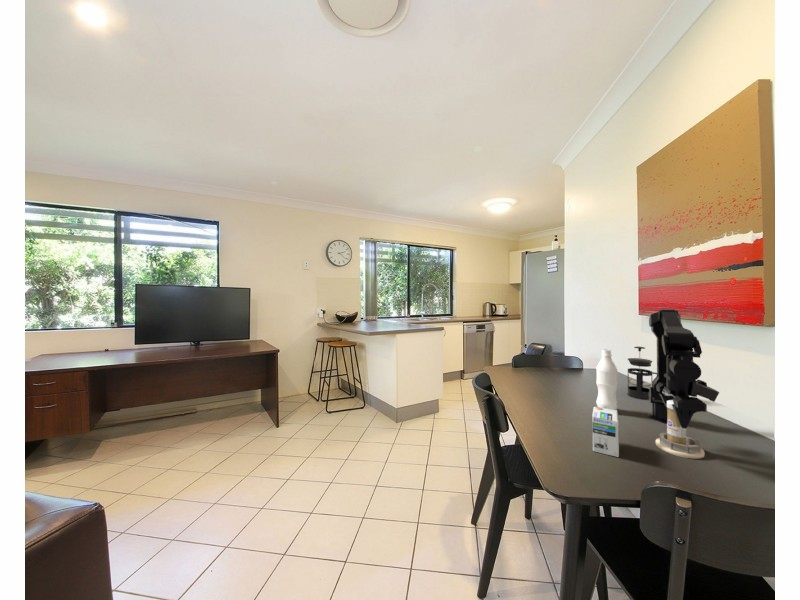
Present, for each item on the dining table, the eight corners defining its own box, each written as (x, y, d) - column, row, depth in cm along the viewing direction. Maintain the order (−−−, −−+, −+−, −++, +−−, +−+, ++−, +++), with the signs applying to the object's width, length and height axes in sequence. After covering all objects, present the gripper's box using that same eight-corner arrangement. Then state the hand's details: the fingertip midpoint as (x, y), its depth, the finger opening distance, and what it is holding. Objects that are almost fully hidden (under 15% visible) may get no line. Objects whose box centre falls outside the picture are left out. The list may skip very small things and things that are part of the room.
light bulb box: (619, 458, 88) (619, 421, 88) (592, 451, 92) (591, 416, 92) (618, 443, 97) (618, 409, 97) (593, 437, 101) (593, 405, 101)
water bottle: (610, 407, 127) (610, 348, 126) (621, 414, 120) (621, 351, 119) (592, 406, 128) (592, 348, 127) (602, 413, 120) (602, 351, 120)
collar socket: (646, 441, 98) (646, 432, 98) (677, 439, 99) (677, 430, 99) (681, 460, 87) (681, 449, 87) (715, 457, 88) (715, 447, 88)
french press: (624, 396, 140) (624, 347, 139) (626, 391, 147) (626, 344, 146) (657, 402, 132) (657, 349, 131) (658, 396, 139) (658, 346, 138)
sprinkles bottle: (663, 442, 95) (662, 400, 94) (674, 440, 96) (673, 398, 95) (679, 450, 90) (679, 405, 90) (690, 447, 91) (690, 403, 91)
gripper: (732, 384, 80) (732, 442, 81) (699, 368, 97) (699, 416, 98) (678, 379, 85) (678, 434, 85) (655, 365, 102) (655, 411, 102)
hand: (679, 423), depth 93 cm, fingers open, 7 cm apart
